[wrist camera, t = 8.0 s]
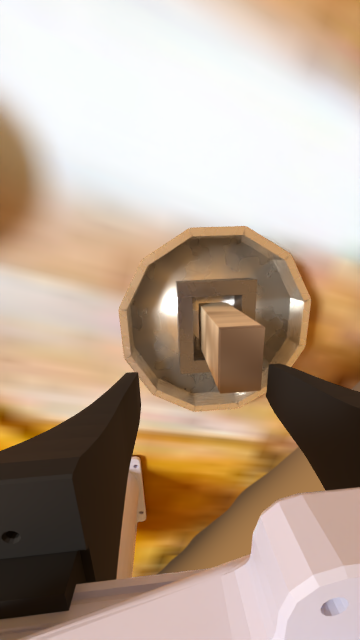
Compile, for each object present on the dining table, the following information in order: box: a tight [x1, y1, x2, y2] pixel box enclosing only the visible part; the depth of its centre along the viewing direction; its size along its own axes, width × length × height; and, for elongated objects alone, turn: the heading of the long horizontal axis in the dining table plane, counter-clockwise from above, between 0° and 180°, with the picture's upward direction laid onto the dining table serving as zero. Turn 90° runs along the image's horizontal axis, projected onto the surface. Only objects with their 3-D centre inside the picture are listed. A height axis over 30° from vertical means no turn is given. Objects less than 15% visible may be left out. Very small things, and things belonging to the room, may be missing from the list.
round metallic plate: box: [119, 226, 311, 412], centre depth 19 cm, size 16×16×2 cm
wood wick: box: [199, 302, 265, 394], centre depth 16 cm, size 4×2×8 cm, turn 2°
